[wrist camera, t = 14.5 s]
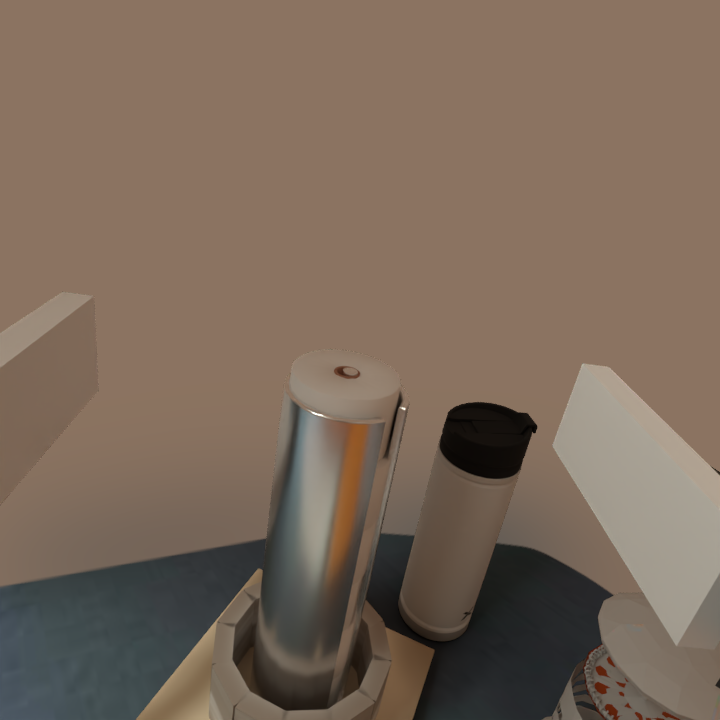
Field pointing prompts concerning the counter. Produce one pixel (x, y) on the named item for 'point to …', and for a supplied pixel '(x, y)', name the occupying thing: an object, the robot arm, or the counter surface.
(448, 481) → the travel mug
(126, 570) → the counter surface
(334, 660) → the metal cylinder
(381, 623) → the collar
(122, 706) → the counter surface
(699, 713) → the french press
